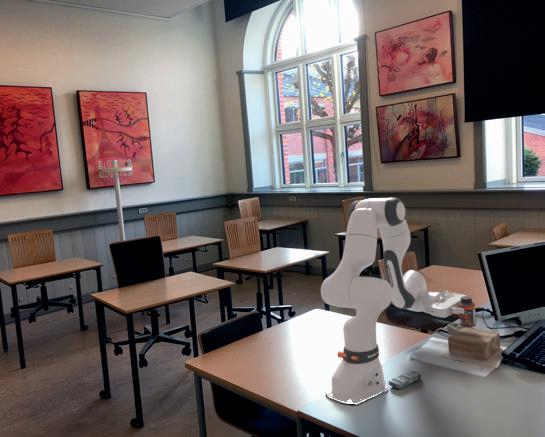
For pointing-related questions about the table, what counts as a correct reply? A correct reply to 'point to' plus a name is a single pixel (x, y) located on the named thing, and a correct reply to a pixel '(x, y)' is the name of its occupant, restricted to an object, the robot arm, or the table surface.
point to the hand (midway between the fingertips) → (469, 308)
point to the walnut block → (474, 343)
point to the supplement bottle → (467, 312)
